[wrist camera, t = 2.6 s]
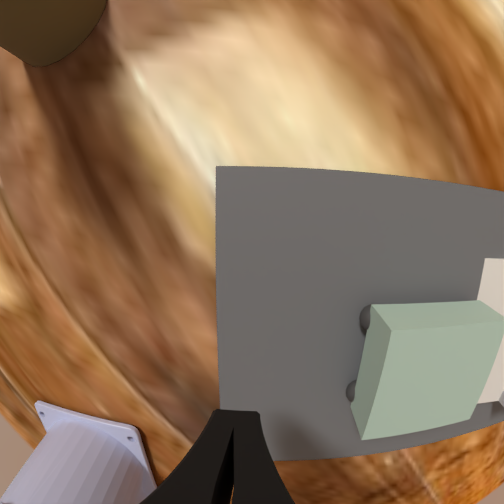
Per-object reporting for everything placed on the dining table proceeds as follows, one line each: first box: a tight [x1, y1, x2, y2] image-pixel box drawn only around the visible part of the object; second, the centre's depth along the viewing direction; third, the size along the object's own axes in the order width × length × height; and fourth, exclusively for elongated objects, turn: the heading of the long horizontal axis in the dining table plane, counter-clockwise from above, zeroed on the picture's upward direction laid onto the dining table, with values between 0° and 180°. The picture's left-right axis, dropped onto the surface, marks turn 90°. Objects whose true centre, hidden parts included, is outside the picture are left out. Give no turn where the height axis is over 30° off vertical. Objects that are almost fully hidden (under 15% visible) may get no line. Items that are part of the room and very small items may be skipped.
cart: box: [346, 300, 504, 440], centre depth 12 cm, size 6×7×3 cm
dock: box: [216, 166, 504, 461], centre depth 12 cm, size 16×28×4 cm, turn 89°
